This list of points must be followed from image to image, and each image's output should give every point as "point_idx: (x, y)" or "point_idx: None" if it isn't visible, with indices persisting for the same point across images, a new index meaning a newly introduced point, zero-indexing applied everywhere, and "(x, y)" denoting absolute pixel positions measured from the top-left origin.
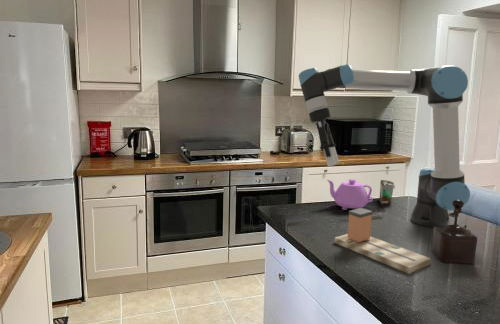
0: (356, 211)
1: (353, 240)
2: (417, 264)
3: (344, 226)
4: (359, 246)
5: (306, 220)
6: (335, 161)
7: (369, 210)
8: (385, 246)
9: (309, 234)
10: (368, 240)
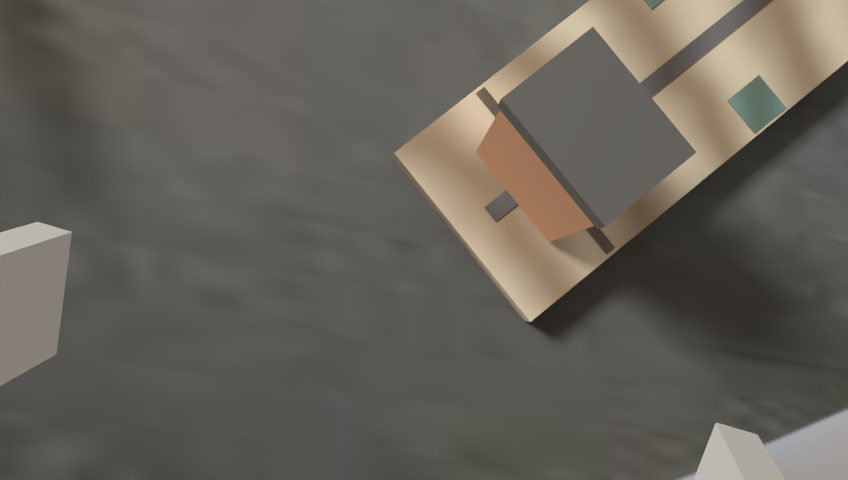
0: (612, 165)
1: None
2: None
3: (207, 196)
4: (665, 194)
5: (87, 461)
6: (35, 299)
7: (572, 46)
8: (648, 37)
9: (386, 468)
10: None
